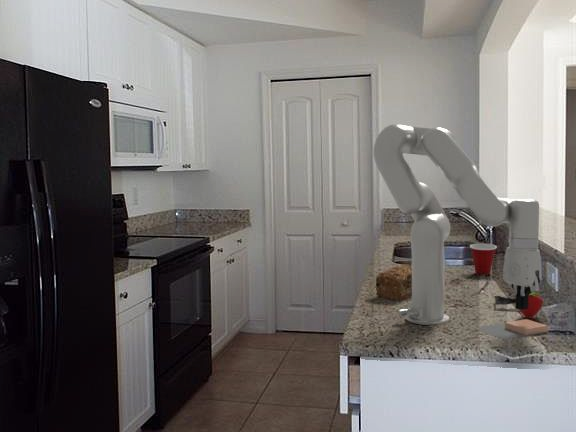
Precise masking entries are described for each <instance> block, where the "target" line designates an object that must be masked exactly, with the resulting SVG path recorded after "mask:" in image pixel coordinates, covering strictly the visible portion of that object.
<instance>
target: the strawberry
mask: <svg viewBox="0 0 576 432" xmlns="http://www.w3.org/2000/svg"><path fill="white" fill-rule="evenodd" d="M539 295H541V294H540V293H536V292H535V291H533V292H532V293H531V295H529V304H528V309H525V310H520V311H519V312H521V314H522V315H523V316H524V317H525V319H526V318H527V319H533V318H534V317H535V316H536V315H538V313H539V312H540V310H541V309H542V307H543V304H544V301H543V298H542V297H541V296H539Z"/></svg>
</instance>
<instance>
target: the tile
mask: <svg viewBox="0 0 576 432" xmlns="http://www.w3.org/2000/svg"><path fill="white" fill-rule="evenodd" d="M504 323H505V328H506V329H509V330H512V331H515V332H518V333H521V334H524V335H529V334H535V333H541V332H549V331H548V329H549V328H548V325H547V324H543V323H540V322H536V321H534V320H530V319H529V318H527V319H526V318H525V319H520V320H513V321H507V322H504Z"/></svg>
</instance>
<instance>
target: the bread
mask: <svg viewBox="0 0 576 432" xmlns="http://www.w3.org/2000/svg"><path fill="white" fill-rule="evenodd" d="M375 286H376V287H375V291H376V296H377V297H378V298H381V299H391V300H393V301H394V300H395V301H400V300H401V301H403V300H406V299H408V297H409V298H411V297H412V264H407V263H406V264H399V265H397V266H393V267H392V268H389V269H387V270H384V271H381V272H380V273H379V274H377V275H376V277H375ZM410 296H411V297H410Z"/></svg>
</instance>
